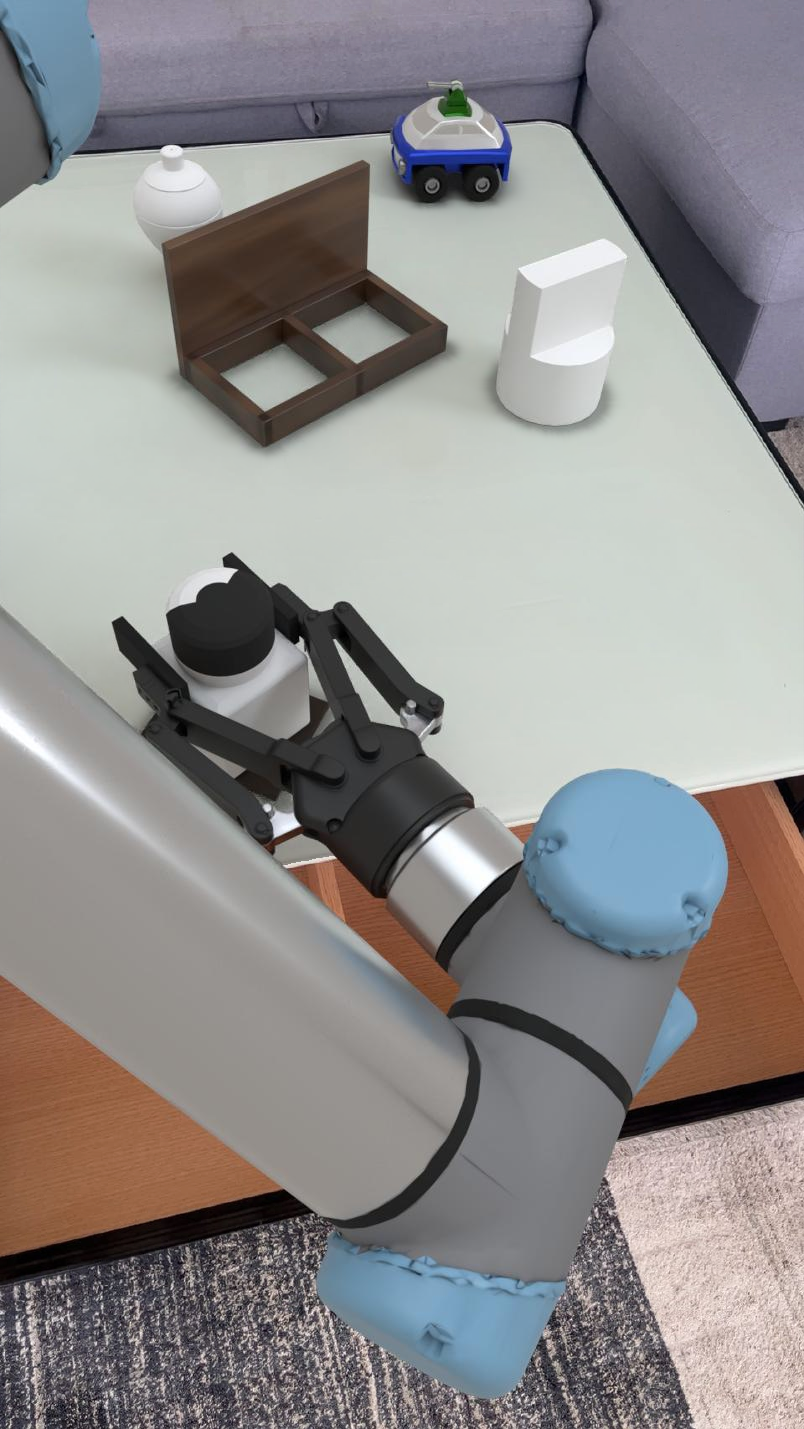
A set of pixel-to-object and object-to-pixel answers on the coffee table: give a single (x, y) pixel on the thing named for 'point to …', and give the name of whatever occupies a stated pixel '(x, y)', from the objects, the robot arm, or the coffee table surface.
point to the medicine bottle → (235, 655)
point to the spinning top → (175, 197)
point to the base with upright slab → (561, 334)
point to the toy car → (451, 145)
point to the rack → (288, 300)
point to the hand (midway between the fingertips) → (176, 601)
